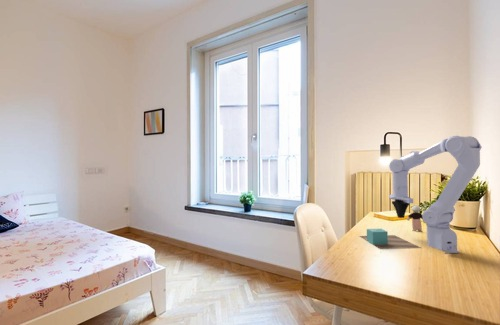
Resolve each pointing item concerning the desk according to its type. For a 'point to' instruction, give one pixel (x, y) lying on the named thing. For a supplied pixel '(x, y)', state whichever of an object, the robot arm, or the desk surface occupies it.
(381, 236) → the teal mini fridge
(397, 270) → the desk surface
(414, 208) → the grandmother figurine
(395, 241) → the plate
